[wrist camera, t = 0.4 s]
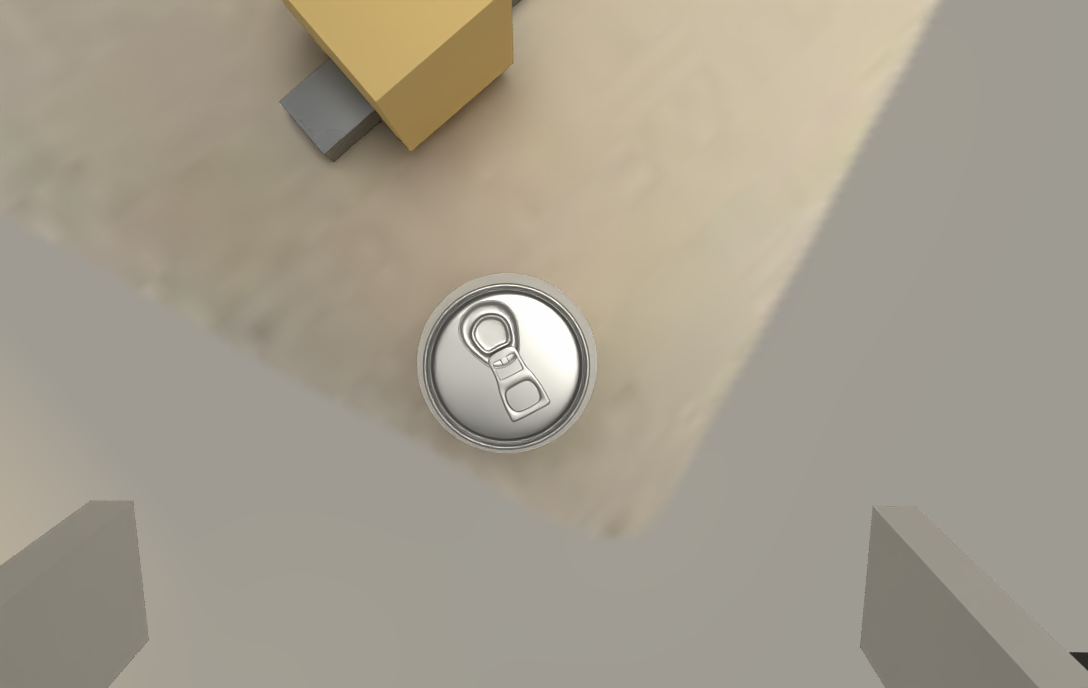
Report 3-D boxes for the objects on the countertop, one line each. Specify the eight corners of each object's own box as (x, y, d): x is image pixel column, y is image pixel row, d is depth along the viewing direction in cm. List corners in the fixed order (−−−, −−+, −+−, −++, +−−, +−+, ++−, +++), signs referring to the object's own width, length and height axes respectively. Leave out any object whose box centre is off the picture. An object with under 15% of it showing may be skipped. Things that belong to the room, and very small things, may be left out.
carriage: (416, 159, 39) (375, 101, 28) (302, 26, 38) (215, -85, 28) (513, 75, 39) (511, -16, 28) (400, -59, 38) (352, -205, 27)
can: (539, 257, 40) (548, 235, 28) (601, 377, 40) (636, 407, 28) (418, 319, 40) (375, 325, 28) (481, 439, 40) (465, 496, 28)
